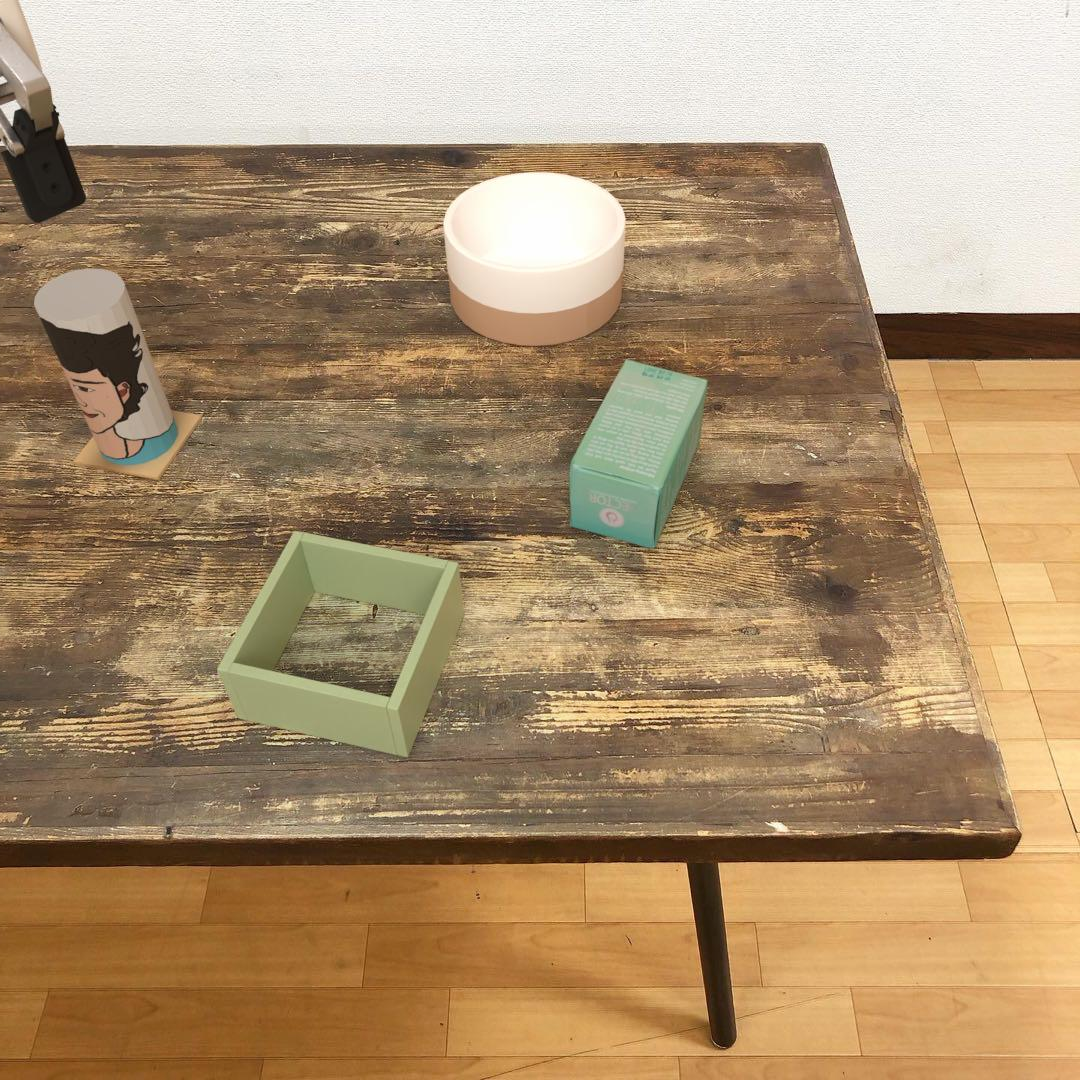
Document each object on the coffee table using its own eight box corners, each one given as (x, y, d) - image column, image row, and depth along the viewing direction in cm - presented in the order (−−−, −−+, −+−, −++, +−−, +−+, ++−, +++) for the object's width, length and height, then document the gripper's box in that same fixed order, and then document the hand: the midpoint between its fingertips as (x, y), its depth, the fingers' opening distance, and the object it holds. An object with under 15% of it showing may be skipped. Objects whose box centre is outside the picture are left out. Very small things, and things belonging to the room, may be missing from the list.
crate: (237, 718, 74) (216, 669, 70) (308, 582, 82) (294, 530, 78) (408, 758, 72) (397, 709, 68) (464, 614, 80) (458, 562, 76)
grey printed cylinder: (106, 414, 95) (45, 271, 84) (183, 409, 95) (132, 265, 84) (91, 467, 91) (24, 323, 79) (171, 462, 91) (116, 317, 80)
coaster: (74, 464, 91) (73, 461, 91) (122, 404, 97) (120, 400, 96) (158, 480, 90) (157, 477, 90) (202, 418, 95) (201, 415, 95)
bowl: (587, 364, 99) (589, 288, 93) (420, 324, 104) (411, 249, 97) (645, 263, 110) (650, 189, 103) (491, 231, 114) (487, 158, 108)
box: (565, 530, 85) (566, 463, 80) (619, 423, 94) (623, 356, 88) (654, 555, 84) (661, 488, 78) (700, 444, 92) (710, 376, 86)
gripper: (-286, -191, 50) (-113, 151, 63) (-136, -105, 42) (28, 268, 55) (-127, -225, 54) (6, 106, 66) (41, -151, 45) (156, 210, 58)
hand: (16, 179), depth 61 cm, fingers open, 9 cm apart
